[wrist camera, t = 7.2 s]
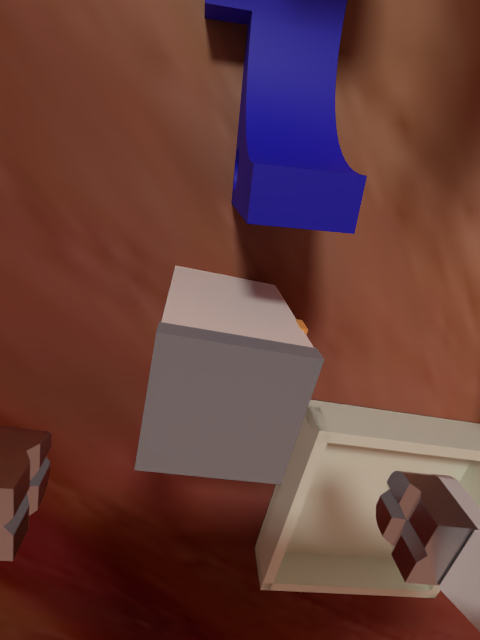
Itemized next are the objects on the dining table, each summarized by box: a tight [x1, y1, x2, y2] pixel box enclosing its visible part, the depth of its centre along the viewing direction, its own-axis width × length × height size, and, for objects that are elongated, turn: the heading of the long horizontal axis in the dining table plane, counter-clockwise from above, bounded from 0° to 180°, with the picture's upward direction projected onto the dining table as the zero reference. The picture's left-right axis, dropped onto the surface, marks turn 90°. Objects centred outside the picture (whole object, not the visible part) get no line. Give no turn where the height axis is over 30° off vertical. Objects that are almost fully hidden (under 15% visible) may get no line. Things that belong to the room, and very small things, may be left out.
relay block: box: [135, 266, 324, 485], centre depth 14 cm, size 5×5×7 cm
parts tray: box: [255, 400, 480, 598], centre depth 21 cm, size 11×11×2 cm
